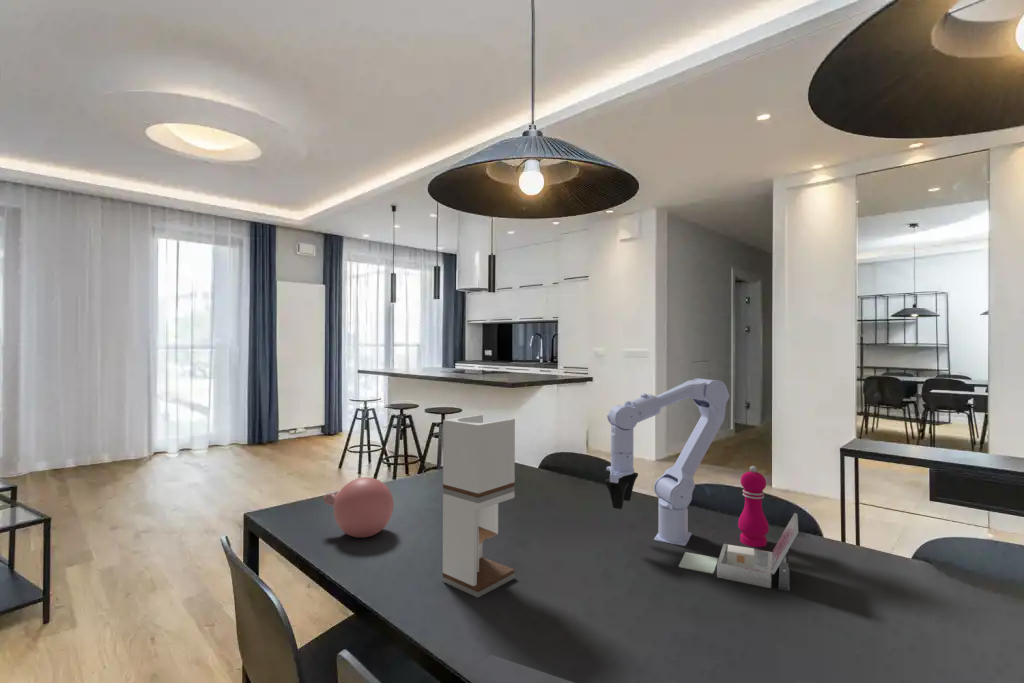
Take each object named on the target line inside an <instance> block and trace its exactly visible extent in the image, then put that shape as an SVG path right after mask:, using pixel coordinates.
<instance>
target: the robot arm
mask: <svg viewBox="0 0 1024 683" xmlns="http://www.w3.org/2000/svg"><path fill="white" fill-rule="evenodd" d="M729 398H730V393H729V390H728V387H727V386H726V383H725V382H724V381H722V380H719V379H714V380H713V379H708V378H706V379H705V378H702V377H697V378H694V379H691V380H686V381H685V382H683V383H681V384H679V385H676V386H675V387H673V388H671V389H668V390H666V391H664V392H661V393H659V394H658V395H653V394H651V393H649V394H647V393H642V394H640V397H638V398H635V399H633V400H631V401H630V400H627V401H624V405H622V404H616V405H614V406H612V407H611V408H610V410H609V412H608V414H607V415H606V416H607V417H606V418H607V421H608V422H609V423H610V427H611V428H610V465H609V466H606V471H608V472H610V474H609V478H606V479H605V480H604V482H605V486H606V487H607V490H608V492H609V494H610V495H609V496H610V499H611V504H612V508H613V509H617V510H622V509H623V505H624V501H626V502H630V501H631V498H632V494H633V489H634V485H635V482H636V480H637V478H638V476H639V473H638V472H635V469H634V428H635V427H637V426H636V425H637V424H638V423H640V422H642V421H645V420H647V419H650V418H653V417H654V416H657V415H659V414H660V412H661V410H662V408H664V407H667V406H670V405H674V404H676V403H678V402H682V401H684V400H686V399H691V400H692V402H694V404H695V406H696V407H697V408H698V411H699V413H700V417H699V420H698V421H697V423H696V425H695V427H694V428H693V429H692V432H691V433H690V435H689V437H688V439H687V441H686V442H685V445H684V446H683V448H682V450H681V452H680V454H679V455H678V458H677V459H676V461H675V463H674V465H673V466H670V467H669V468H667V469H665V470H664V472H663V474H662V475H661V476H660V477H658V478H657V479H656V480H655V483H654V484H653V490H654V493H655V494H656V496H657V497H658V509H657V510H658V518H657V519H658V522H657V523H658V530H657V531H658V532H657V533H656V536H655V537H654V538H653V540H654V541H657V542H660V543H667V544H673V545H677V546H682V547H685V546H687V544H688V543H689V540H690V538H691V536H692V532H691V531H690V532H689V530H688V529H689V528H688V526H689V525H688V524H689V523H688V522H689V518H688V515H689V514H688V512H689V511H688V506H689V505H690V504H691V502H692V500H693V491H694V490H695V487H696V485H695V481H694V480H695V479H694V475H695V474H696V471H697V470H698V468H699V466H700V465H701V463H702V461H703V459H704V458H705V455H706V454H707V452H708V449H709V448H710V446H711V444H712V443H713V441H714V439H715V438H716V435H717V433H718V431H719V430H720V428H721V426H722V424H723V423H724V421H725V416H726V408H727V403H728V401H729Z"/></svg>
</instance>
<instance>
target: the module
mask: <svg viewBox="0 0 1024 683" xmlns="http://www.w3.org/2000/svg"><path fill="white" fill-rule="evenodd" d="M754 549H755V548H754V547H752V548H751V547H747V546H741V545H740V546H739V545H733V544H729V545H728V549H727V564H728V565H733V566H738V567H744V568H749V569H754Z"/></svg>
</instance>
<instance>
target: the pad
mask: <svg viewBox="0 0 1024 683" xmlns="http://www.w3.org/2000/svg"><path fill="white" fill-rule="evenodd" d="M718 559H719V557H714V556H709V555H704V554H698V553H694V552H686V551H685V552H684V554H683V557H682V558H681V560H680V562H679V564H678V568H682V569H687V570H692V571H697V572H701V573H708V574H714V572H715V570H716V568H717V562H718Z"/></svg>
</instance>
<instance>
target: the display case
mask: <svg viewBox="0 0 1024 683" xmlns="http://www.w3.org/2000/svg"><path fill="white" fill-rule="evenodd" d="M442 424H443V425H442V428H443V429H442V430H443V431H442V433H443V434H442V435H443V436H442V438H443V440H442V448H443V449H442V452H443V453H442V583H444V582H445V584H446V583H447V584H446V585H448V586H449V585H450V586H451V585H452V586H451V587H453V588H456V589H458V590H460V591H462V592H464V593H467V594H469V595H471V596H473V597H476V598H477V599H478V598H479V597H481V596H483V595H486V594H487V593H489V592H491V591H493V590H495V589H497V588H499V587H500V586H503V585H505V584H506V583H508V582H510V581H512V580H514V579H515V568H512V567H509V566H507V565H504V564H501V563H499V562H496V561H494V560H491V559H489V558H485V557H483V542H484V541H485V540H486V541H487V540H489V539H491V538H494V537H496V536H498V535H499V504H500V503H503V502H507V501H508V500H512V499H514V498H515V496H516V495H515V494H516V493H515V489H516V488H515V486H516V485H515V480H516V477H515V476H516V474H515V472H516V469H515V468H516V467H515V465H516V462H515V461H516V458H515V456H516V455H515V454H516V450H515V449H516V448H515V447H516V431H515V430H516V426H515V425H516V420H515V418H510V419H509V418H507V419H501V420H496V421H490V422H489V421H488V422H484V414H476V415H469V416H462V417H456V418H449V419H448V418H447V419H442Z"/></svg>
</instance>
